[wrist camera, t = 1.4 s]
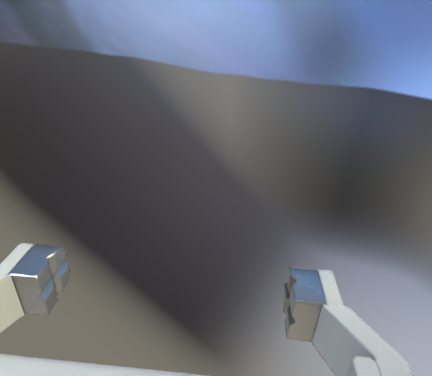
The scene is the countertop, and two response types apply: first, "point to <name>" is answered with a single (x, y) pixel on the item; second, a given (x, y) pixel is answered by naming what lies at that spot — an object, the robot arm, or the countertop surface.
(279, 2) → the countertop surface
